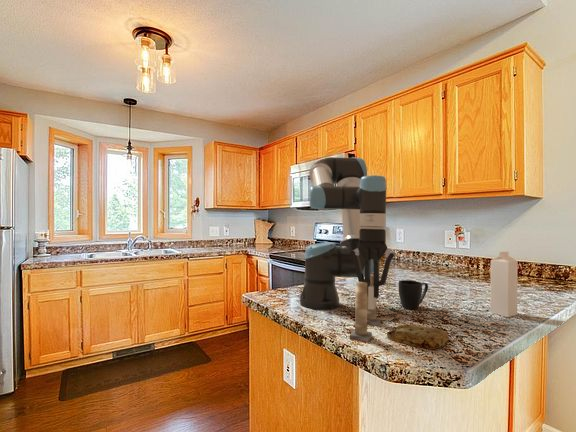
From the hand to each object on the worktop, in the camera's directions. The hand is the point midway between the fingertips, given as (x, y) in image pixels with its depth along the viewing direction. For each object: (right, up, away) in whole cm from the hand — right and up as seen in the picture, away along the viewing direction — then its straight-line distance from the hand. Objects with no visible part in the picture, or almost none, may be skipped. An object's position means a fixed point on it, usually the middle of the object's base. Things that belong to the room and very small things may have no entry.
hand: (371, 308), depth 91 cm
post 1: (-5, -6, -5) cm, 10 cm away
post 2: (+2, -7, +7) cm, 10 cm away
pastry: (+11, -7, -5) cm, 14 cm away
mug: (+23, -7, +25) cm, 35 cm away
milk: (+52, -8, +19) cm, 56 cm away
